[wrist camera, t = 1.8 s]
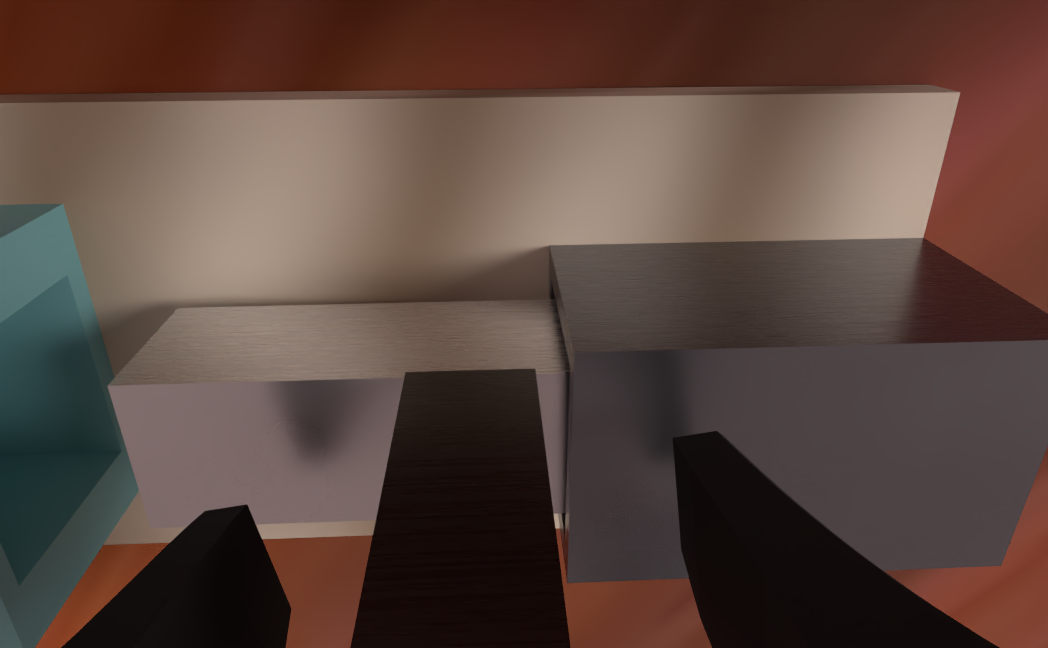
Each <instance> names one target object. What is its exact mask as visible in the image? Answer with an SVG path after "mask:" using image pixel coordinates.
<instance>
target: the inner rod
mask: <svg viewBox="0 0 1048 648" xmlns="http://www.w3.org/2000/svg"><path fill="white" fill-rule="evenodd" d="M569 378H570V364H569V360H568V355H567V350H566V346H565V341H564V336H563V332H562V327H561V322H560V318H559V313H558V308H557V304H556V299H546V300H502V301H459V302H416V303H373V304H330V305H287V306H243V307H200V308H178V309H177V310H176V311H175V312H174V313H173V314H172V315H171V316H170V318H169V319H168V320H167V321H166V322H165V323H164V324H163V325H162V326H161V327H160V329H159V330H158V331H157V332H156V333H155V334H154V335H153V336H152V337H151V338H150V340H149V341H148V342H147V343H146V344H145V345H144V346H143V347H142V348H141V349H140V350H139V352H138V353H137V354H136V355H135V356H134V357H133V358H132V359H131V360H130V361H129V363H128V364H127V365H126V366H125V367H124V368H123V369H122V370H121V371H120V372H119V374H118V375H117V376H116V377H115V378H114V379H113V380H112V381H111V382H110V383H109V385H108V390H109V393H110V396H111V400H112V403H113V406H114V410H115V413H116V416H117V419H118V423H119V426H120V429H121V433H122V436H123V439H124V443H125V446H126V449H127V452H128V456H129V459H130V462H131V466H132V469H133V472H134V476H135V479H136V482H137V485H138V489H139V492H140V495H141V499H142V502H143V505H144V508H145V512H146V515H147V518H148V522H149V525H150V528H172V527H187V526H188V525H189V524H190V523H192V522H193V521H194V520H195V519H196V518H197V517H198V516H200V515H201V514H202V513H203V512H204V511H207V510H214V509H220V508H227V507H233V506H239V505H246V504H247V505H248V507H249V510H250V512H251V514H252V517H253V519H254V521H255V524H284V523H312V522H340V521H367V520H376V522H375V527H374V532H373V537H372V542H371V547H370V552H369V557H368V562H367V567H366V572H365V577H364V582H363V587H362V592H361V598H360V603H359V608H358V613H357V618H356V623H355V628H354V633H353V638H352V643H351V648H570V640H569V632H568V624H567V616H566V608H565V600H564V592H563V584H562V577H561V569H560V561H559V553H558V545H557V537H556V529H555V521H554V514H563V513H566V484H567V448H568V413H569Z"/></svg>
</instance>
